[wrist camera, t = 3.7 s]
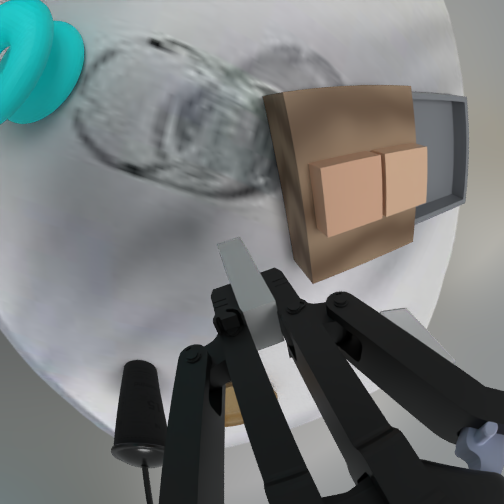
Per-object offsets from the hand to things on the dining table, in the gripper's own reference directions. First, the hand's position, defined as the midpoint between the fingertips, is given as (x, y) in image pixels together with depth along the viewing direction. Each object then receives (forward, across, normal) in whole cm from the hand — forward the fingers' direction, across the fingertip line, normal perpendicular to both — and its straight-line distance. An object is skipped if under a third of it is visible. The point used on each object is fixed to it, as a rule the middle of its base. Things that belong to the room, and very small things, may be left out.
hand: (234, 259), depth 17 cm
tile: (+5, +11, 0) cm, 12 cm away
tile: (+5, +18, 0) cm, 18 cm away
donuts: (+10, -12, +20) cm, 25 cm away
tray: (+10, +29, 0) cm, 30 cm away
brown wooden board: (+10, +14, 0) cm, 17 cm away
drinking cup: (+10, -17, -18) cm, 27 cm away
